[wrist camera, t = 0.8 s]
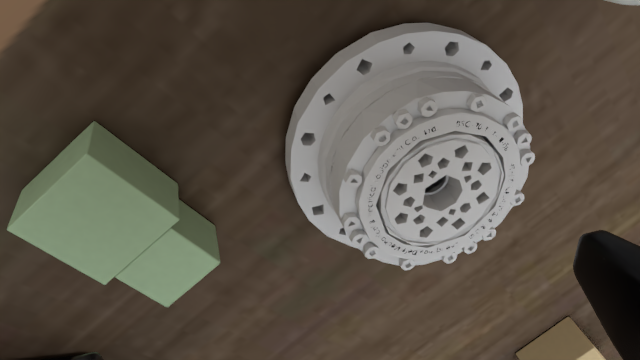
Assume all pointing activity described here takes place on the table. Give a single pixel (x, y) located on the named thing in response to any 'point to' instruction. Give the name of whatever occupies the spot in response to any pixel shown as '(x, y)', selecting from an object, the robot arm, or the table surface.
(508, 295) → the table surface
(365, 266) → the table surface
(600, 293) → the robot arm
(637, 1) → the pill bottle
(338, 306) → the table surface
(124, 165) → the pad
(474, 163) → the mechanical component
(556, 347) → the dock pad
